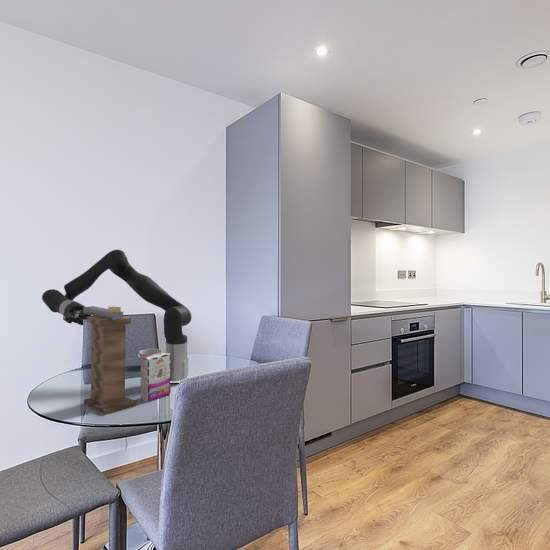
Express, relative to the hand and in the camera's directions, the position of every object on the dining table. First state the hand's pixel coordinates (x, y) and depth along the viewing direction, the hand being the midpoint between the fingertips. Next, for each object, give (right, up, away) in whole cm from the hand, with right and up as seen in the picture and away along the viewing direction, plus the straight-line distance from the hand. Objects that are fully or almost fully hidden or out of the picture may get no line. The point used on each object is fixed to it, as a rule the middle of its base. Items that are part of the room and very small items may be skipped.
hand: (93, 321), depth 150 cm
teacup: (+7, -28, +44) cm, 53 cm away
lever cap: (+6, +3, -5) cm, 8 cm away
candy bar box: (+24, -30, 0) cm, 38 cm away
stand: (+10, -29, -9) cm, 32 cm away
